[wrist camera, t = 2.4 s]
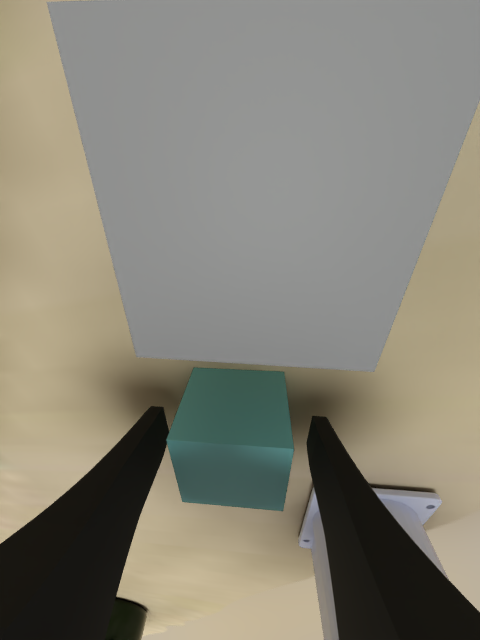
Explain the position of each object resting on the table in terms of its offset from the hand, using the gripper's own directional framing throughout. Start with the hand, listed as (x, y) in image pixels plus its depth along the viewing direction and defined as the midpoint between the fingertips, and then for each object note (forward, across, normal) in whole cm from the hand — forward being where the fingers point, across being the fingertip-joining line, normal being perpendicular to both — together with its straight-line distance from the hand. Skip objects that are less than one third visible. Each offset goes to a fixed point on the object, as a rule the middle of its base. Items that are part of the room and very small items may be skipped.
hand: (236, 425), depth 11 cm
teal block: (+2, 0, 0) cm, 2 cm away
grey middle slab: (0, -1, -9) cm, 9 cm away
